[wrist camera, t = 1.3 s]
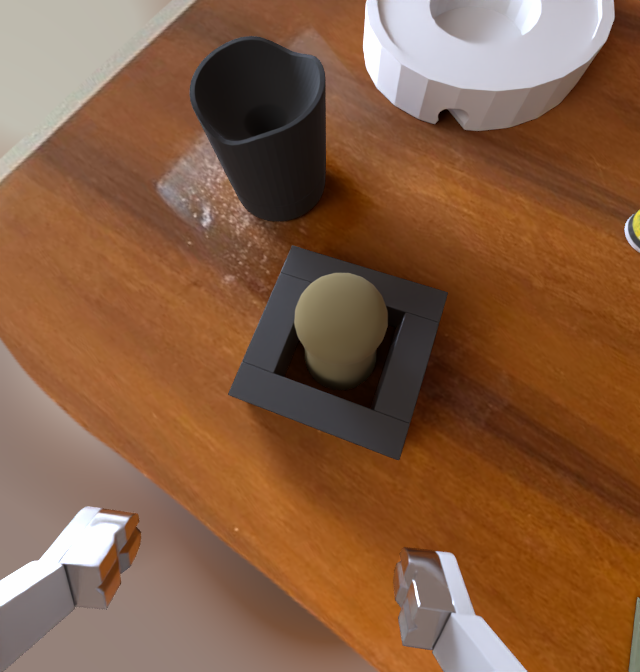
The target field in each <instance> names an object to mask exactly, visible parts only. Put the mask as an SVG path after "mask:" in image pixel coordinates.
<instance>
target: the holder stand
mask: <svg viewBox="0 0 640 672" xmlns="http://www.w3.org/2000/svg"><path fill="white" fill-rule="evenodd" d="M333 273H351V274H354V275H357V276H360V277H363V278H364V279H366V280H367V281H369V282H370V283H372V284H373V285H374V286H375V287H376V289H377V290H378V291H379V292H380V294H381V295H382V297H383V300H384V303H385V305H386V308H387V311H388V325H389V326H393V327H396V330H395V334H394V337H393V340H392V343H391V346H390V349H389V352H388V355H387V358H386V361H385V365H384V368H383V371H382V374H381V377H380V380H379V383H378V386H377V389H376V392H375V396H374V399H373V402H372V405H371V408H367V407H364V406H361V405H359V404H356V403H353V402H350V401H348V400H345V399H342V398H340V397H337V396H334V395H331V394H329V393H326V392H323V391H320V390H318V389H315V388H312V387H310V386H307V385H304V384H301V383H299V382H296V381H293V380H290V379H288V378H285V374H286V372H287V369H288V366H289V364H290V361H291V359H292V356H293V354H294V351H295V349H296V346H297V344H298V341H299V338H298V336H297V332H296V328H295V324H294V320H295V309H296V306H297V304H298V301H299V299H300V296H301V294H302V293H303V292H304V291H305V289H306V288H307V287H308V286H309V285H310V284H311V283H312V282H314V281H315V280H317V279H319V278H320V277H322V276H325V275H329V274H333ZM447 295H448V292H445V291H442V290H438V289H435V288H432V287H428V286H425V285H422V284H418V283H415V282H412V281H408V280H405V279H402V278H399V277H395V276H392V275H389V274H385V273H382V272H379V271H375V270H372V269H369V268H365V267H362V266H359V265H355V264H352V263H349V262H346V261H342V260H339V259H336V258H332V257H329V256H326V255H322V254H319V253H316V252H312V251H309V250H306V249H302V248H299V247H296V246H292V247H291V249H290V252H289V254H288V256H287V259H286V261H285V263H284V266H283V268H282V270H281V273H280V275H279V277H278V280H277V282H276V284H275V287H274V289H273V291H272V294H271V296H270V298H269V300H268V303H267V305H266V307H265V310H264V312H263V314H262V317H261V319H260V321H259V324H258V326H257V328H256V331H255V333H254V335H253V338H252V340H251V342H250V345H249V347H248V349H247V351H246V354H245V356H244V358H243V361H242V363H241V365H240V368H239V370H238V372H237V375H236V377H235V379H234V382H233V384H232V386H231V389H230V391H229V393H228V395H230V396H232V397H235V398H238V399H240V400H243V401H245V402H248V403H250V404H253V405H256V406H258V407H261V408H263V409H266V410H269V411H271V412H274V413H276V414H279V415H282V416H284V417H287V418H289V419H292V420H295V421H297V422H300V423H302V424H305V425H308V426H310V427H313V428H315V429H318V430H321V431H323V432H326V433H328V434H331V435H334V436H336V437H339V438H341V439H344V440H346V441H349V442H352V443H354V444H357V445H359V446H362V447H365V448H367V449H370V450H372V451H375V452H378V453H380V454H383V455H385V456H388V457H391V458H393V459H396V460H400V456H401V453H402V449H403V446H404V443H405V439H406V436H407V432H408V429H409V425H410V422H411V419H412V415H413V412H414V408H415V405H416V401H417V398H418V395H419V391H420V388H421V384H422V381H423V377H424V374H425V370H426V367H427V364H428V360H429V357H430V353H431V350H432V346H433V343H434V339H435V336H436V333H437V329H438V326H439V322H440V319H441V315H442V312H443V308H444V305H445V301H446V298H447Z"/></svg>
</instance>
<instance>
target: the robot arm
mask: <svg viewBox="0 0 640 672" xmlns="http://www.w3.org/2000/svg"><path fill="white" fill-rule="evenodd" d="M138 523H139V516H138V514H137V513H130V512H123V511H115V510H109V509H104V508H96V507H88V506H86V507H85V508H83V509H82V510H80V511H79V513H78V514H77V515H76V516H75V517H74V518H73V520H72V521H71V522H70V523H69V524H68V526H67V527H66V528H65V529H64V531H63V532H62V533H61V534H60V535H59V537H58V538H57V539H56V540H55V542H54V543H53V544H52V545H51V546H50V548H49V549H48V550H47V551H46V552H45V554H44V555H43V556H42V557H41V559H40V560H39V561H32V562H30V563H28V564H27V565H25V566H24V567H22V568H20V569H19V570H17V571H15V572H14V573H12V574H10V575H9V576H7V577H6V578H4V579H2V580H1V581H0V672H3V671H4V670H6V669H7V668H8V667H9V666H10V665H11V664H12V663H14V662H15V661H16V660H17V659H18V658H19V657H20V656H22V655H23V654H24V653H25V652H26V651H27V650H29V649H30V648H31V647H32V646H33V645H34V644H35V643H37V642H38V641H39V640H40V639H41V638H42V637H43V636H45V635H46V634H47V633H48V632H49V631H50V630H51V629H53V628H54V627H55V626H56V625H57V624H58V623H59V622H61V621H62V620H63V619H64V618H65V617H66V616H67V615H69V614H70V613H71V612H72V611H73V610H74V609H75V607H84V608H95V609H107V608H108V606H109V604H110V602H111V601H112V599H113V597H114V595H115V594H116V592H117V590H118V588H119V586H120V585H121V575H120V574H121V573H123V572H124V571H125V570H127V569H128V568H129V567H130V566H131V564H132V563H133V561H134V559H135V557H136V555H137V552H138V549H139V546H140V541H141V532H140V530H139V529H138V528H137V527H136V526H137V524H138ZM400 559H401V561H400V562H398V563H397V564H396V567H395V570H394V579H393V583H394V594H395V600H396V601H397V603H398V604H399V606H400V607H401V611H400V614H399V616H398V620H399V626H400V632H401V638H402V644H403V646H408V647H414V648H421V649H427V650H433V651H432V653H433V654H434V656H435V658H436V660H437V661H438V663H439V665H440V666H441V668H442V670H443V671H444V672H528V671H527V670H526V669H525V668H524V667H523V666H522V664H521V663H520V662H519V661H518V660H517V658H516V657H515V656H514V655H513V654H512V653H511V651H510V650H509V649H508V648H507V647H506V645H505V644H504V643H503V642H502V641H501V640H500V638H499V637H498V636H497V635H496V634H495V632H494V631H493V630H492V629H491V628H490V627H489V625H488V624H487V623H486V622H485V621H484V619H483V618H482V617H481V616H476V615H475V612H474V609H473V606H472V603H471V600H470V598H469V595H468V592H467V589H466V586H465V583H464V580H463V578H462V575H461V572H460V569H459V566H458V563H457V561H456V558H455V556H454V555H453V554H452V553H449V552H439V551H434V550H427V549H417V548H408V547H403V548H402V549H401V552H400Z"/></svg>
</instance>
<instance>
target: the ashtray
mask: <svg viewBox="0 0 640 672" xmlns="http://www.w3.org/2000/svg"><path fill="white" fill-rule="evenodd" d="M614 18H615V16H614V0H367V2H366V13H365V29H364V45H363V50H364V56H365V63H366V69H367V70H368V72H369V74H370V76H371V78H372V80H373V82H374V84H375V85H376V87H377V89H378V90H379V91H381V92H382V93H383V94H384V95H385V96H386V97H387V98H388V99H389V100H390V101H391V102H392V103H393V104H394V105H395V106H397V107H398V108H400V109H402V110H403V111H405V112H407V113H409V114H410V115H412V116H414V117H416V118H417V119H420V120H423V121H426V122H429V123H432V124H435V123H436V122H437V121H438V114H439V112H441V111H442V110H444V109H448V110H449V112H450V113H451V114H452V115H453V117H454V118H455V119H456V120H457V121H458V123H459V124H460V125H461V126H462V128H463V129H464V130H473V131H483V130H492V129H501V128H509V127H512V126H515V125H518V124H521V123H524V122H527V121H530V120H533V119H536V118H538V117H540V116H541V115H543V114H544V113H546V112H547V111H549V110H551V109H552V108H554V107H555V106H557V105H558V104H560V103H561V102H562V100H563V99H564V98H565V97H566V96H567V95H568V93H569V92H570V91H571V90H572V89H573V87H574V86H575V85H576V84H577V82H578V81H579V79H580V78H581V77H582V75H583V74H584V72H585V71H586V69H587V68H588V66H589V65H590V64H591V62H592V61H593V59H594V58H595V56H596V55H597V53H598V52H599V51H600V49H601V48H602V46H603V45H604V43H605V42H606V40H607V38H608V35H609V32H610V29H611V27H612V24H613V21H614Z"/></svg>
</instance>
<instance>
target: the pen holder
mask: <svg viewBox="0 0 640 672" xmlns="http://www.w3.org/2000/svg"><path fill="white" fill-rule="evenodd" d="M190 100H191V104H192V107H193V109H194V111H195V113H196V115H197V117H198V119H199V121H200V123H201V125H202V127H203V129H204V131H205V133H206V135H207V137H208V139H209V141H210V143H211V145H212V147H213V149H214V151H215V153H216V155H217V157H218V159H219V161H220V163H221V165H222V167H223V169H224V171H225V173H226V175H227V177H228V179H229V181H230V183H231V185H232V187H233V188H234V190H235V192H236V194H237V196H238V198H239V200H240V201H241V203H242V204H243V206H244V207H245V208H246V209H247V210H248V211H249V212H250V213H252V214H253V215H255V216H257V217H259V218H261V219H264V220H268V221H287V220H292V219H295V218H298V217H300V216H302V215H304V214H305V213H307V212H308V211H309V210H311V209H312V208H313V207H314V206H315V205H316V204H317V202H318V201H319V199H320V198H321V196H322V193H323V191H324V187H325V174H326V106H325V72H324V68H323V65H322V64H321V62H320V60H319V59H318V58H316V57H315V56H312V55H307V54H300V53H296V52H293V51H291V50H288V49H286V48H284V47H282V46H280V45H278V44H276V43H274V42H272V41H270V40H267V39H264V38H261V37H254V36H249V37H241V38H238V39H234V40H232V41H230V42H227V43H225V44H224V45H222V46H220V47H218V48H217V49H215V50H214V51H213V52H211V53H210V54H209V55H208V56H207V57H206V58H205V59H204V60H203V61H202V62H201V64H200V65H199V66H198V68H197V69H196V71H195V73H194V75H193V78H192V80H191V85H190Z"/></svg>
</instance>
